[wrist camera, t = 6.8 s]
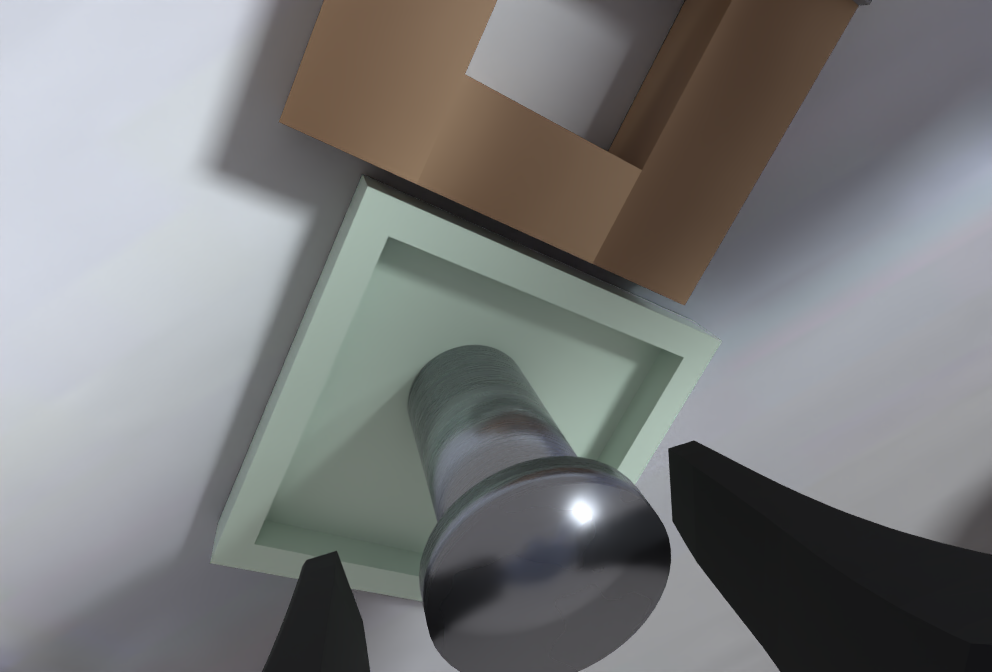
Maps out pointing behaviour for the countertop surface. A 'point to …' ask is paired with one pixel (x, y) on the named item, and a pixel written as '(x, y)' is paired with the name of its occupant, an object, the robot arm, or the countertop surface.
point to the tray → (399, 358)
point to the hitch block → (557, 151)
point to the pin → (524, 527)
